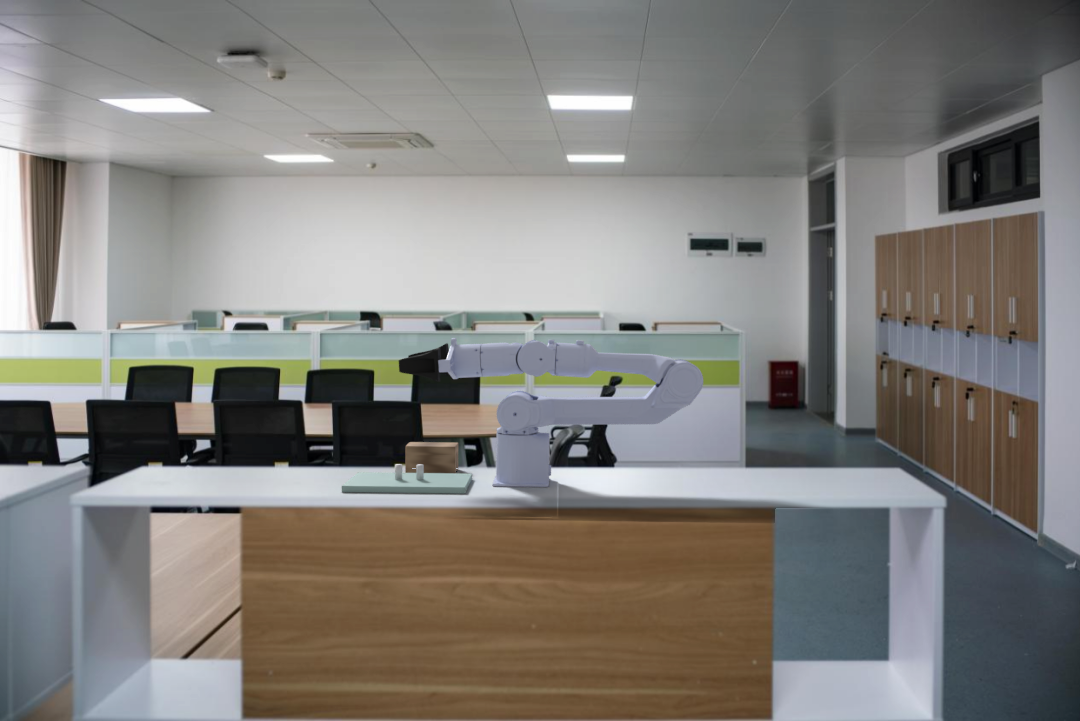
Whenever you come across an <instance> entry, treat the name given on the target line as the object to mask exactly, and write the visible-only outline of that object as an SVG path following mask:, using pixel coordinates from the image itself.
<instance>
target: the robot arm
mask: <svg viewBox="0 0 1080 721" xmlns="http://www.w3.org/2000/svg"><path fill="white" fill-rule="evenodd" d="M398 370H399V371H398V372H399V373H401V374H406V375H411V376H412V375H413V376H419V377H424V378H427V379H430V380H432V381H434V382H437V383H439V382H441V374H443V375H445V376H450V377H451V378H452V379H453V380H458V379H459V378H460V379H462V378H466V379H467V378H483V377H484V378H485V377H487V378H488V377H489V378H490V377H506V376H507V377H508V376H511V375H522V374H524V373H525V374H527V375H529V376H534V377H535V378H537V377H541V376H543V375H544V374H546V373H549V374H550V375H551V376H556V377H567V378H568V377H572V378H590V377H591V376H592V375H594V373H596V372H597V371H602V372H611V373H621V374H622V373H623V374H633V375H634V374H635V375H643V376H645V377H646V378H648V379H649V380H652V381H653V382H655V384H654V385H653V386H652V387H651V389H650V390H649V391H648V392H647V393H646V394H645V395H644V396H566V397H565V396H560V397H558V396H557V397H556V396H554V397H553V396H547V395H546V396H545V395H535V394H531V393H529V392H527V391H524V390H515V391H512V392H510V393H509V394H508V395H506V397H505V398H503V399H502V400H501V402H499V404H498V406H497V409H496V419H497V422H498V424H499V425H500V427H497V428H496V442H495V444H496V446H495V447H496V450H495V453H496V457H495V460H496V461H495V462H496V463H495V464H496V466H495V467H496V470H495V472H496V473H495V474H496V475H495V476H494V478H493V482H492V484H491V485H492V487H503V488H504V487H511V488H513V487H515V488H517V487H518V488H519V487H521V488H523V487H525V488H530V487H531V488H549V487H550V476H552V464H550V433H549V432H539V428H542V427H546V426H547V427H548V426H551V425H552V426H554V425H555V426H556V425H563V426H565V425H569V426H571V425H572V426H573V425H578V426H579V425H583V426H584V425H587V426H588V425H591V426H593V425H657V424H660V423H662V422H663V421H664V420H666V419H668V418H669V417H671V416H672V415H674V414H676V413H677V412H679V411H680V410H682V409H684V408H686V407H688V406H690V405H692V403H693V402H694V401H695V399H696V398H697V396H698V395H699V394H700V393H701V391H702V389H703V385H704V376H703V373H702V372H701V371H702V370H701V369H700V368H699V367H698V366H697V365H695V364H693V363H692V362H690V361H688V360H686V359H683V358H680V359H679V358H677V359H674V358H672V357H670V356H665V355H659V354H654V353H653V354H652V353H626V352H625V353H624V352H623V353H622V352H598V351H597V350H596V349H595V348H594V346H593V345H592V344H591V343H585V341H584V340H581V339H576V341H575V343H571V342H555V339H550V338H549V339H548V341H547V344H546V343H545V342H544V341H540V340H537V339H531V340H529V341H527V342H526V343H524V344H523V343H520V342H511V343H509V342H488V343H468V344H467V343H466V344H463V343H462V344H458V342H457V337H452V338H450V346H449V343H448V342H446V343H444V344H443V345H441V346H439V347H435V348H434V349H430V350H426V351H420V352H416V353H412V354H409V355H408V356H407V357H405V358H402V359H399V360H398Z"/></svg>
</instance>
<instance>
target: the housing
mask: <svg viewBox="0 0 1080 721" xmlns="http://www.w3.org/2000/svg"><path fill="white" fill-rule="evenodd" d="M404 450H405V452H404V453H405V455H404V456H405V457H404V458H405V462H404V464H405V467H404V468H405V470H404V471H405V472H404V473H416V469H412V468H416V465H418V464H423V465H424V473H457V472H458V470H459V442H451V441H450V442H442V441H441V442H439V441H438V442H435V441H433V442H432V441H431V442H429V441H424V442H423V441H410V442H408V443H407V444H406V445H405V448H404ZM456 468H458V469H456ZM456 471H457V472H456Z"/></svg>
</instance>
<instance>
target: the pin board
mask: <svg viewBox="0 0 1080 721" xmlns="http://www.w3.org/2000/svg"><path fill="white" fill-rule="evenodd" d="M394 470H395V471H394V472H381V471H380V472H377V471H376V472H374V471H373V472H365V471H364V472H362V471H361V472H360V471H359V472H357V473H356V474H354V475H353V476H352V477H351V478H350V479H348V480H347V481H346V482H344V483H343V484H342V485H341V493H389V494H390V493H391V494H393V493H396V494H397V493H400V494H401V493H403V494H407V493H408V494H466V492H467V490H468V489H469V487H470V484H471V482H472V481H473V473H459V472H456V473H424V465H423V464H418V465H416V473H405V472H403V464H402V463H396V464H394Z"/></svg>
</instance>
